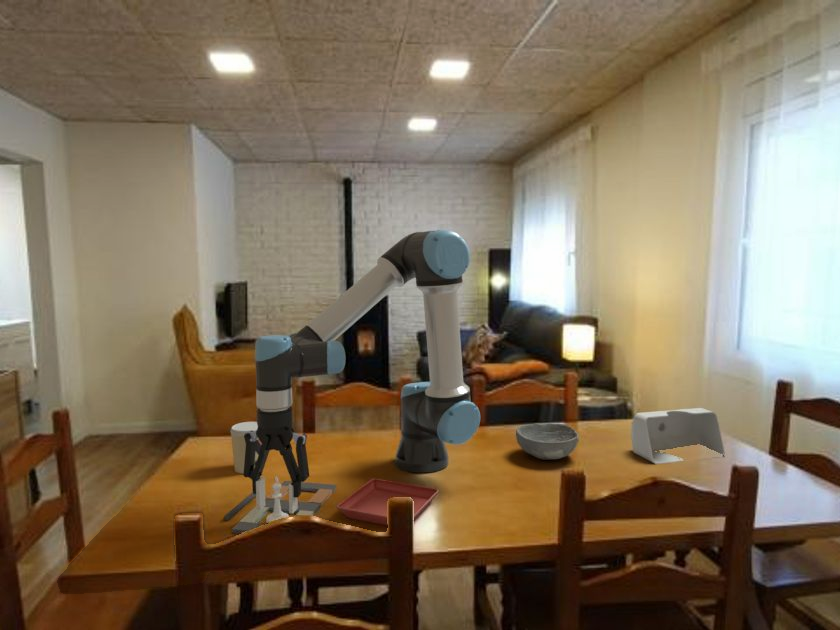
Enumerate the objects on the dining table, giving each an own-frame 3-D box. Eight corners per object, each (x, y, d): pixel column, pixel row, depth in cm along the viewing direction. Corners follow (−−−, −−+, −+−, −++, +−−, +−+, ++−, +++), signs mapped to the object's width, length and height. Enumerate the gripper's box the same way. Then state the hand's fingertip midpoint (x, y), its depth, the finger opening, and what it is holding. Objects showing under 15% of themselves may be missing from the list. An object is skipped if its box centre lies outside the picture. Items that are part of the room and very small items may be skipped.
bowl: (509, 462, 155) (510, 435, 155) (522, 443, 172) (522, 418, 171) (574, 471, 149) (575, 443, 148) (581, 451, 165) (582, 425, 164)
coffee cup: (256, 476, 145) (255, 432, 144) (224, 473, 147) (223, 430, 146) (273, 463, 154) (272, 422, 153) (242, 461, 156) (241, 420, 155)
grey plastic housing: (686, 440, 176) (688, 402, 175) (725, 457, 160) (728, 415, 159) (618, 446, 169) (620, 407, 168) (653, 465, 154) (655, 421, 153)
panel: (336, 487, 138) (336, 484, 138) (294, 538, 112) (294, 534, 112) (284, 483, 140) (284, 480, 140) (231, 532, 115) (231, 528, 115)
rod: (259, 489, 137) (259, 484, 137) (264, 489, 137) (264, 485, 136) (223, 521, 120) (222, 515, 120) (228, 521, 120) (227, 516, 120)
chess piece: (268, 527, 117) (267, 482, 116) (264, 517, 121) (262, 474, 121) (291, 522, 119) (290, 478, 118) (286, 513, 124) (285, 470, 123)
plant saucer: (372, 489, 138) (372, 476, 137) (440, 501, 131) (440, 488, 130) (335, 520, 121) (335, 506, 121) (409, 536, 114) (409, 521, 114)
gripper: (324, 404, 120) (326, 505, 122) (241, 400, 123) (244, 498, 126) (311, 414, 112) (313, 521, 115) (223, 409, 116) (226, 513, 118)
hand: (277, 509), depth 120 cm, fingers open, 7 cm apart
